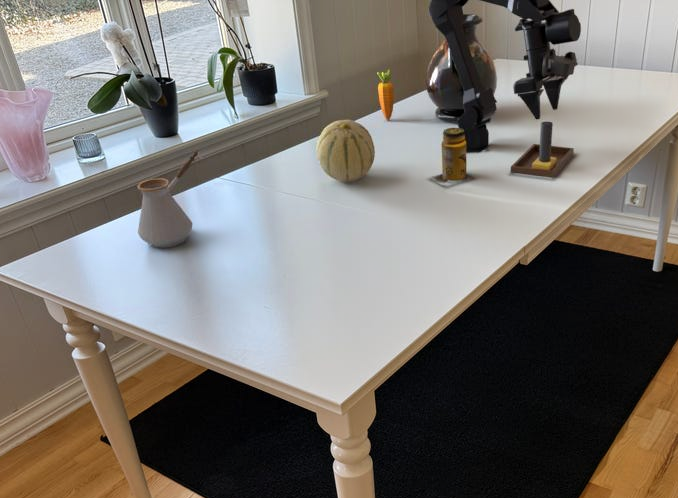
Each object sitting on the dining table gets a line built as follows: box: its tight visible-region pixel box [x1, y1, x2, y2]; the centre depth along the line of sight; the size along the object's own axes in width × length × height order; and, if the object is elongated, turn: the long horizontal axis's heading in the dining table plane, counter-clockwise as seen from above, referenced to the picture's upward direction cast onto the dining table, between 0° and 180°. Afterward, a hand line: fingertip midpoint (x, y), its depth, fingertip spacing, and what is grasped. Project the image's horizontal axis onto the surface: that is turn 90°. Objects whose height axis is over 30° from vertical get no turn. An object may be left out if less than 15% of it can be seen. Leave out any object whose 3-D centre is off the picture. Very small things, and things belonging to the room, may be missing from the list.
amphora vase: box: [425, 13, 498, 124], centre depth 207 cm, size 22×22×28 cm
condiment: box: [429, 127, 467, 186], centre depth 170 cm, size 7×8×12 cm
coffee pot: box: [136, 150, 204, 249], centre depth 151 cm, size 21×12×15 cm, turn 155°
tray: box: [510, 143, 575, 179], centre depth 177 cm, size 18×11×2 cm, turn 154°
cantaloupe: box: [316, 119, 376, 183], centre depth 172 cm, size 15×15×15 cm
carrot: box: [376, 69, 395, 122], centre depth 211 cm, size 5×5×15 cm
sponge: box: [532, 121, 557, 171], centre depth 170 cm, size 6×4×12 cm
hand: (546, 114), depth 173 cm, fingers open, 9 cm apart
